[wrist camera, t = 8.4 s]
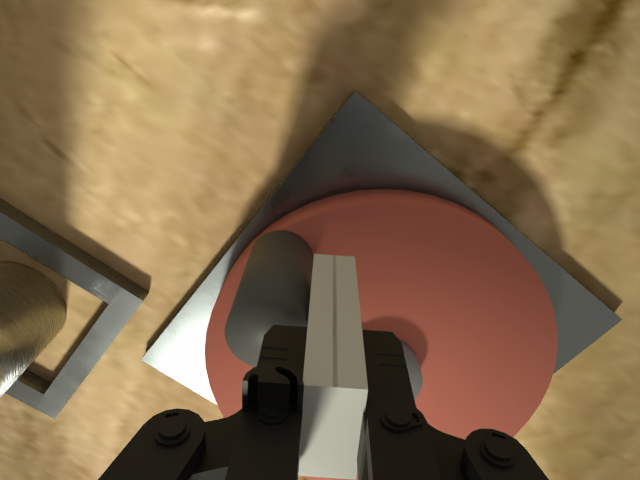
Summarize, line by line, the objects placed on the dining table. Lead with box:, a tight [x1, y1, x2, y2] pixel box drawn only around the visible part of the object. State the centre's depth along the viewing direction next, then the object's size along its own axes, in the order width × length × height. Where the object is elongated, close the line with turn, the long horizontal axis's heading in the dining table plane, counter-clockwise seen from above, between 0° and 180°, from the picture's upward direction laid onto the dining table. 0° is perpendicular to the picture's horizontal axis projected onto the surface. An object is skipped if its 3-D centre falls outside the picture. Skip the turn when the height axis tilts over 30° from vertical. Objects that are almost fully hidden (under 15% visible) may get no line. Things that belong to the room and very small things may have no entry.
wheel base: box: [141, 90, 622, 404], centre depth 24 cm, size 17×17×1 cm
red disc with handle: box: [205, 189, 558, 480], centre depth 20 cm, size 16×16×7 cm
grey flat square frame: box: [0, 199, 149, 419], centre depth 23 cm, size 10×10×1 cm
